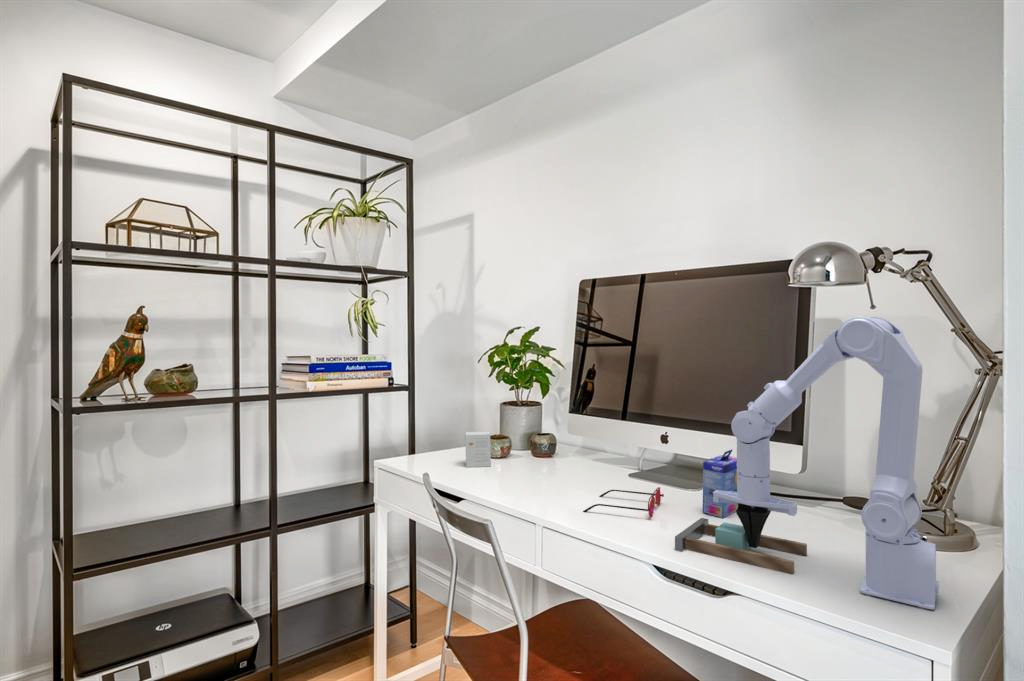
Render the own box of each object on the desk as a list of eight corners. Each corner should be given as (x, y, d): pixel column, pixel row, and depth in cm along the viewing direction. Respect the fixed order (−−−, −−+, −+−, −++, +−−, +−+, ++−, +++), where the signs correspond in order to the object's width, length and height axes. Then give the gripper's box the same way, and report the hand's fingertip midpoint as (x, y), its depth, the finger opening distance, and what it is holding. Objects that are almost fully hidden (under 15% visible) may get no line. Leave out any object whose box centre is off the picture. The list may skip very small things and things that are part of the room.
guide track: (806, 554, 105) (806, 543, 105) (792, 574, 97) (792, 562, 97) (705, 532, 117) (705, 523, 117) (685, 549, 108) (685, 538, 108)
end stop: (708, 530, 118) (708, 519, 118) (682, 551, 107) (682, 538, 107) (701, 529, 119) (701, 517, 119) (674, 549, 108) (674, 536, 108)
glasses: (653, 522, 125) (652, 500, 125) (582, 513, 132) (581, 492, 132) (664, 505, 138) (664, 484, 138) (599, 497, 145) (598, 478, 145)
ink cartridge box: (724, 519, 126) (724, 454, 126) (701, 513, 130) (700, 451, 129) (743, 509, 133) (743, 447, 132) (720, 504, 137) (720, 444, 136)
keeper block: (750, 547, 109) (750, 527, 109) (742, 556, 105) (742, 534, 105) (724, 542, 112) (724, 522, 112) (715, 549, 108) (715, 529, 108)
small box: (490, 463, 184) (490, 430, 184) (491, 467, 178) (490, 433, 178) (466, 463, 183) (465, 431, 183) (465, 467, 178) (465, 434, 178)
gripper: (800, 475, 104) (801, 548, 104) (721, 464, 113) (722, 531, 113) (791, 483, 99) (792, 560, 99) (709, 471, 108) (709, 542, 108)
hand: (753, 545), depth 106 cm, fingers closed
